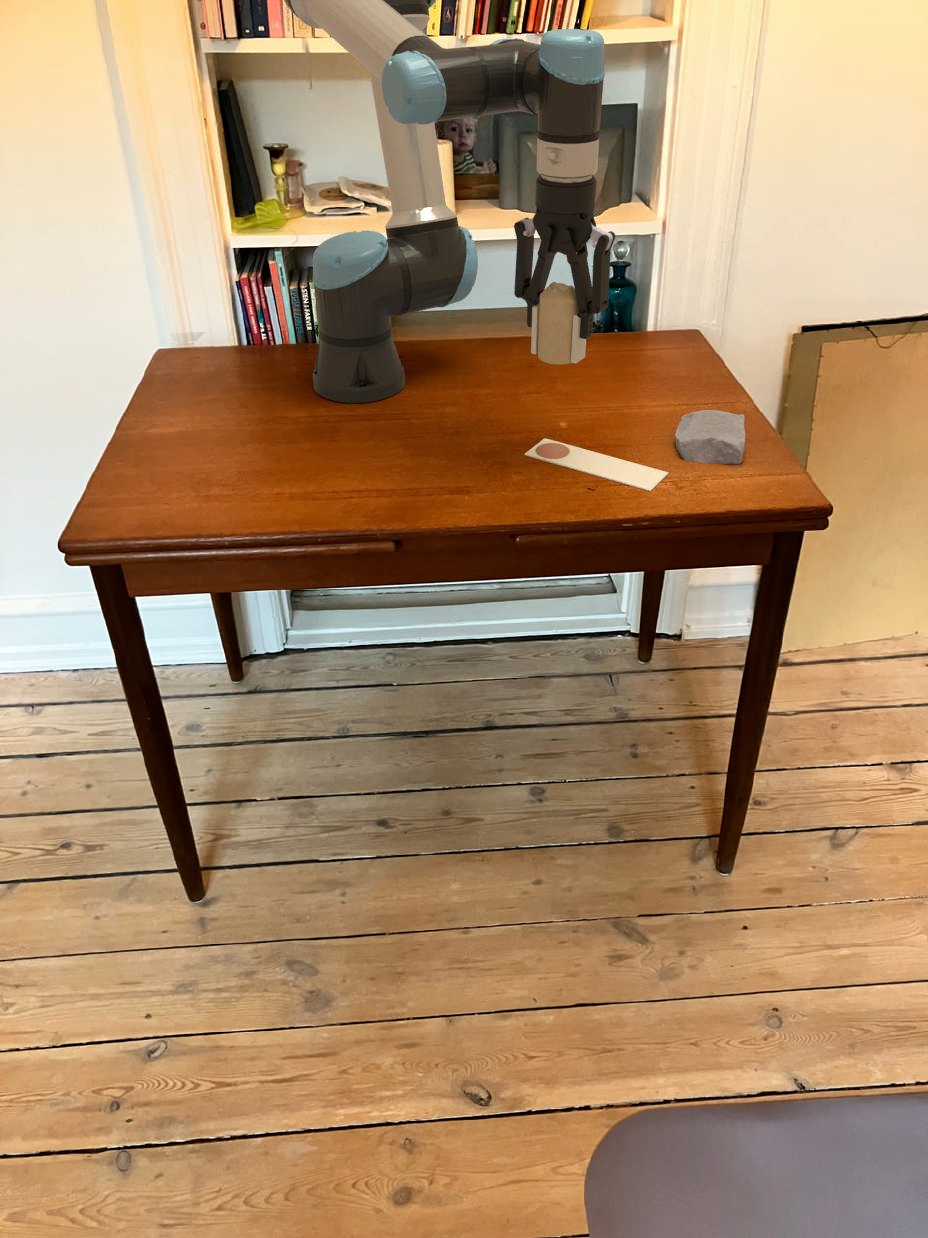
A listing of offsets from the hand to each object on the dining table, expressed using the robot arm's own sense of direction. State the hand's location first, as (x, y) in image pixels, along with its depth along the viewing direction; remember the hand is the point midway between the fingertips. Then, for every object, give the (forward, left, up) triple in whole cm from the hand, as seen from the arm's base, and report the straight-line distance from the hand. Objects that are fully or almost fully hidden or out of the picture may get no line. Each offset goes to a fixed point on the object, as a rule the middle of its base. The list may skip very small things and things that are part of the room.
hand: (557, 354), depth 137 cm
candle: (0, 0, -1) cm, 1 cm away
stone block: (+18, +14, -15) cm, 28 cm away
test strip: (+7, 0, -15) cm, 16 cm away
